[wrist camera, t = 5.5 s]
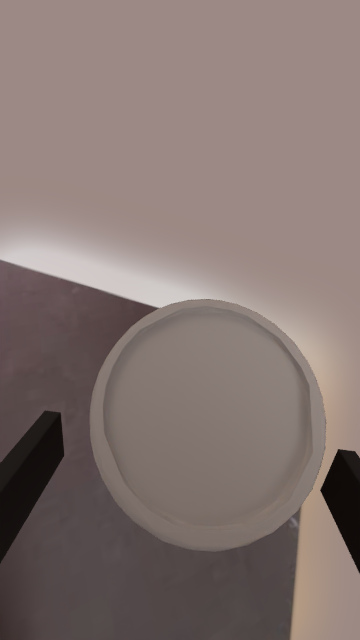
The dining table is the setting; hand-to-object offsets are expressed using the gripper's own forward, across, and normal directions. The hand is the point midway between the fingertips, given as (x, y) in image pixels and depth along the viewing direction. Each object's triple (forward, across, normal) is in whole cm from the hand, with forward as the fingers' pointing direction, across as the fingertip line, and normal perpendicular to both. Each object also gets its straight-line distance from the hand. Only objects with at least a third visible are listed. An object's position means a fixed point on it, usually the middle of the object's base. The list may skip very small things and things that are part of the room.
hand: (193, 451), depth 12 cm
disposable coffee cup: (+7, 0, -4) cm, 9 cm away
